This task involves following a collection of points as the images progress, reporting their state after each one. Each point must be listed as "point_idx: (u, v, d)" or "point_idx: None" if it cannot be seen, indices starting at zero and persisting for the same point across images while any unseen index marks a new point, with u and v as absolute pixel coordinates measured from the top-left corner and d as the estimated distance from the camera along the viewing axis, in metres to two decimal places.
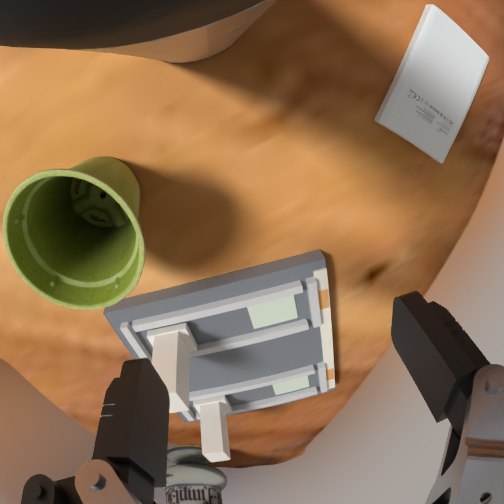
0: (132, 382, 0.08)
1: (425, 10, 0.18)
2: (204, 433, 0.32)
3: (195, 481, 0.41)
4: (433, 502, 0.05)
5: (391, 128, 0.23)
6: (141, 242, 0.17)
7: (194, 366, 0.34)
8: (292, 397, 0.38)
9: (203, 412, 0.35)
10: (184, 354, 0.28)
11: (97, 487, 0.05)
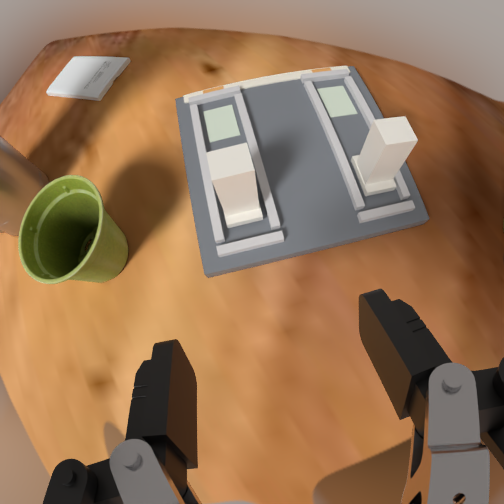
0: (165, 362, 0.09)
1: (50, 94, 0.39)
2: (375, 158, 0.24)
3: None
4: None
5: (101, 90, 0.37)
6: (66, 176, 0.24)
7: (297, 189, 0.30)
8: (356, 96, 0.32)
9: (366, 174, 0.27)
10: None
11: (135, 467, 0.06)
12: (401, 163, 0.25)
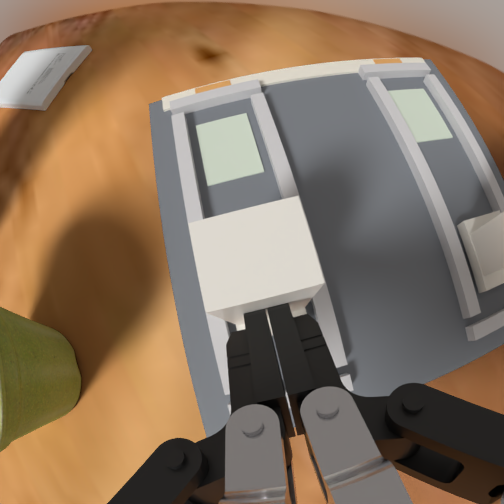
0: (261, 329, 0.09)
1: None
2: None
3: None
4: None
5: (47, 94, 0.23)
6: None
7: (374, 284, 0.16)
8: (448, 108, 0.17)
9: (493, 263, 0.13)
10: None
11: (261, 433, 0.06)
12: None
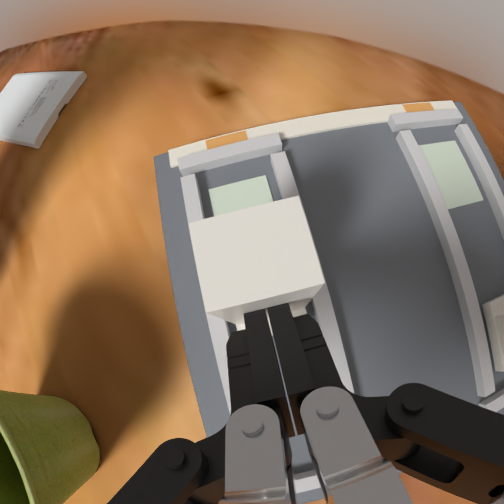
0: (261, 329, 0.09)
1: None
2: None
3: None
4: None
5: (39, 130, 0.21)
6: None
7: (397, 372, 0.14)
8: (481, 166, 0.16)
9: None
10: None
11: (261, 433, 0.06)
12: None
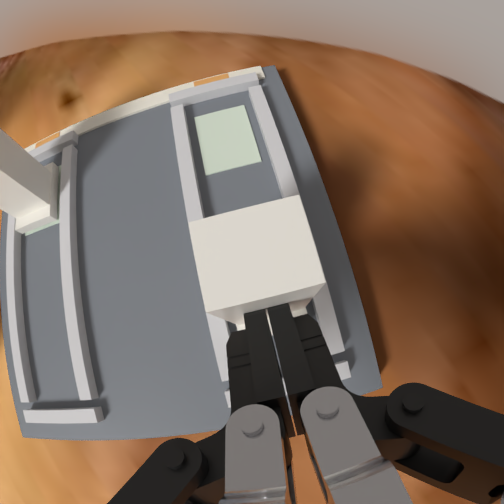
0: (262, 329, 0.09)
1: None
2: None
3: None
4: None
5: None
6: None
7: (126, 331, 0.16)
8: (262, 125, 0.18)
9: None
10: None
11: (261, 433, 0.06)
12: (305, 301, 0.11)
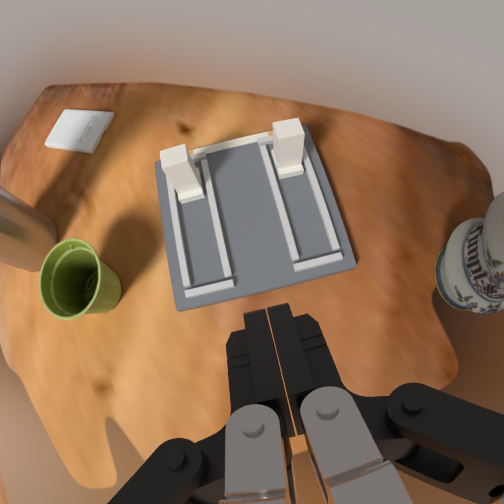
0: (262, 329, 0.09)
1: (48, 146, 0.48)
2: (277, 149, 0.36)
3: (458, 253, 0.31)
4: None
5: (93, 144, 0.46)
6: (71, 239, 0.34)
7: (247, 244, 0.39)
8: (303, 157, 0.41)
9: (277, 162, 0.39)
10: None
11: (261, 433, 0.06)
12: (301, 151, 0.37)
